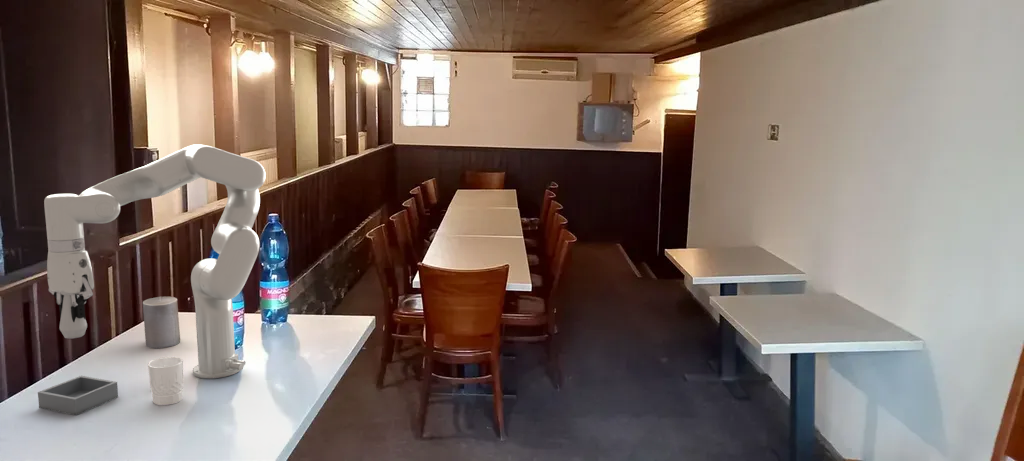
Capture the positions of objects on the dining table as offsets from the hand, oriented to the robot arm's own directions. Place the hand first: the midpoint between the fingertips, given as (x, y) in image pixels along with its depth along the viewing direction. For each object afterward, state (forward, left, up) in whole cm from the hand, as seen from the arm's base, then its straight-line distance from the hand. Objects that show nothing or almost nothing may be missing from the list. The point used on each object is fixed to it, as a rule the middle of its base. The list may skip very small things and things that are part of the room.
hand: (72, 319), depth 180 cm
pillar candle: (+16, -43, -21) cm, 50 cm away
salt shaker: (0, 0, -4) cm, 4 cm away
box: (0, 0, -21) cm, 21 cm away
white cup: (-19, -9, -21) cm, 30 cm away
